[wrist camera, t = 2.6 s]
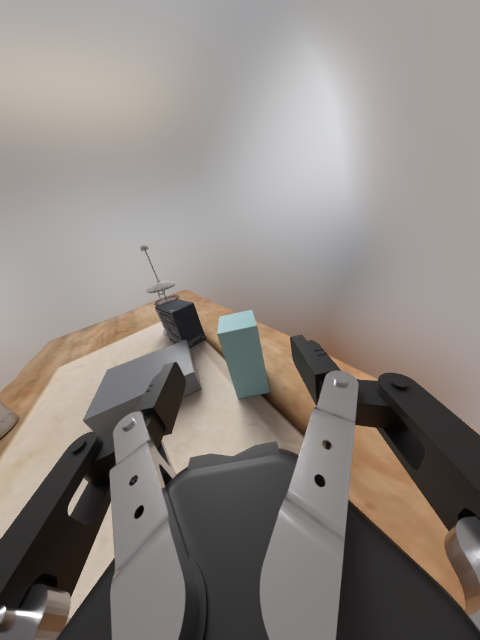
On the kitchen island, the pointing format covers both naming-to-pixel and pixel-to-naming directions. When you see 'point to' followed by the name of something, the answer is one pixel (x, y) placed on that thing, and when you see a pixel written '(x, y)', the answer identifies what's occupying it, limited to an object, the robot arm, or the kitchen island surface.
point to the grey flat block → (136, 385)
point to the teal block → (243, 353)
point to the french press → (160, 289)
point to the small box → (181, 321)
